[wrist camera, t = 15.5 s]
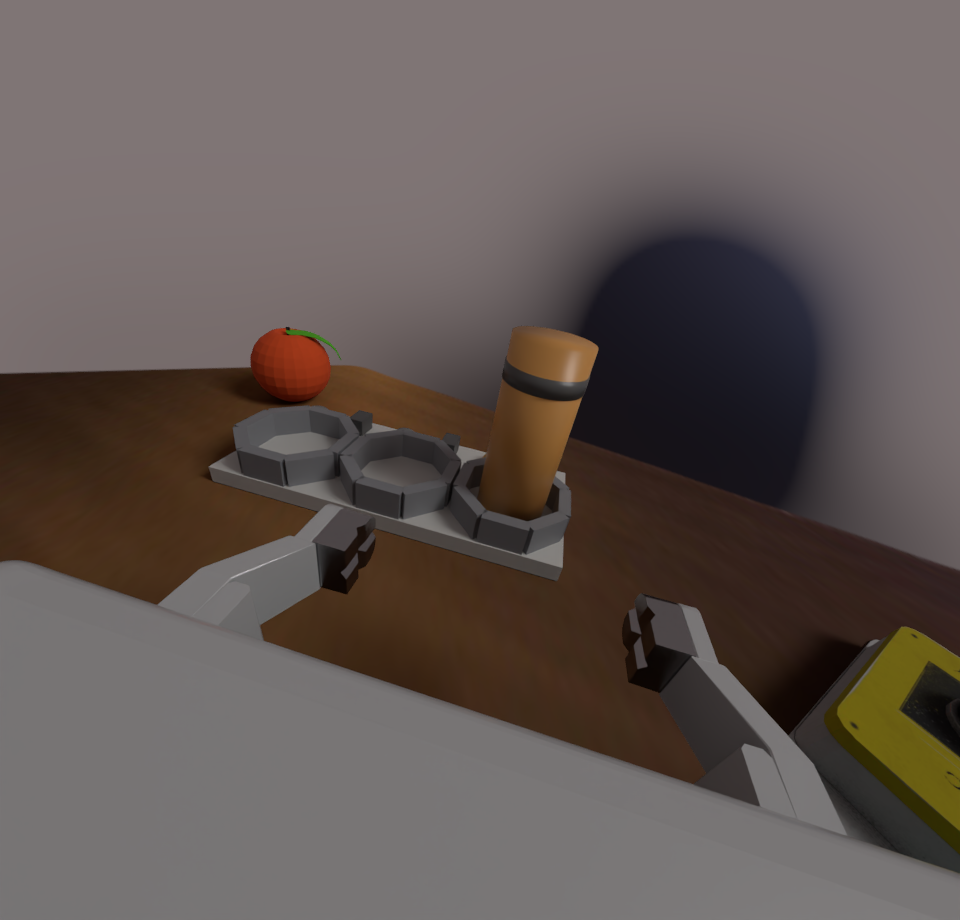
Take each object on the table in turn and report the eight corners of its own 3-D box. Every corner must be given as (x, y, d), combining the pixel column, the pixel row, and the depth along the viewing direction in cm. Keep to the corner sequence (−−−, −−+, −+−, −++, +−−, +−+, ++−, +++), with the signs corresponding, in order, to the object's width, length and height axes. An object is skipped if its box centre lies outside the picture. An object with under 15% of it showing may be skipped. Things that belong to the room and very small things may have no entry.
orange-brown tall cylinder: (467, 522, 24) (505, 337, 17) (483, 483, 28) (517, 321, 21) (537, 542, 23) (602, 360, 17) (543, 499, 27) (596, 338, 21)
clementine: (345, 388, 41) (343, 323, 37) (340, 415, 36) (337, 343, 32) (266, 383, 39) (255, 314, 35) (247, 411, 33) (232, 333, 30)
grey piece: (212, 481, 25) (201, 440, 23) (310, 418, 34) (308, 386, 32) (557, 581, 22) (572, 544, 21) (561, 484, 32) (572, 453, 30)
